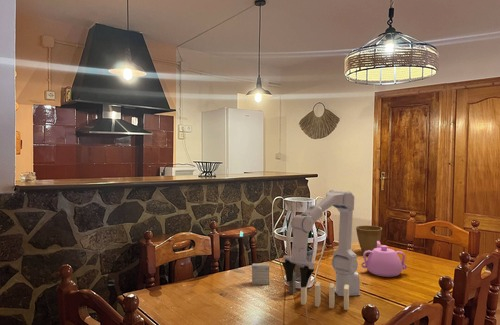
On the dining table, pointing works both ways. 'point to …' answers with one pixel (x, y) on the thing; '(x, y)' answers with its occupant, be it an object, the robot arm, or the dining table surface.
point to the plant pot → (368, 237)
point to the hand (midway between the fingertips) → (296, 284)
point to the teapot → (384, 261)
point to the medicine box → (260, 274)
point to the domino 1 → (292, 285)
